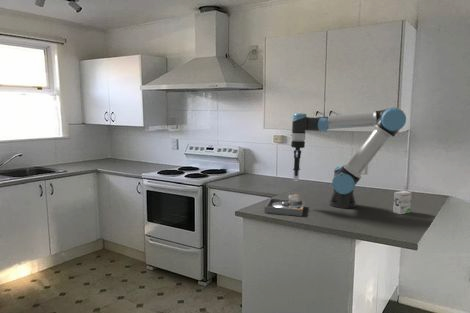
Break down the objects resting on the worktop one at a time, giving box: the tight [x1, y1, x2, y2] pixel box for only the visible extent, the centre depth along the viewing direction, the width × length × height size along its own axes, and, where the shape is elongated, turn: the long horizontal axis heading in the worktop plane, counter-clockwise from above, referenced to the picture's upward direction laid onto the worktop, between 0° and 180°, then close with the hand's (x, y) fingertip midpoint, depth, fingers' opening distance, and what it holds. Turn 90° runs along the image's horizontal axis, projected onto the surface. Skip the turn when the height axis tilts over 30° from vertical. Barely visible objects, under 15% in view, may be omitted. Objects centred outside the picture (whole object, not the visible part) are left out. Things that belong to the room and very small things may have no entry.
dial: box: [272, 193, 300, 209], centre depth 209 cm, size 16×15×7 cm
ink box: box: [392, 190, 413, 215], centre depth 208 cm, size 9×5×12 cm, turn 116°
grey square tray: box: [264, 197, 305, 217], centre depth 209 cm, size 20×20×4 cm
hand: (295, 181), depth 215 cm, fingers closed
